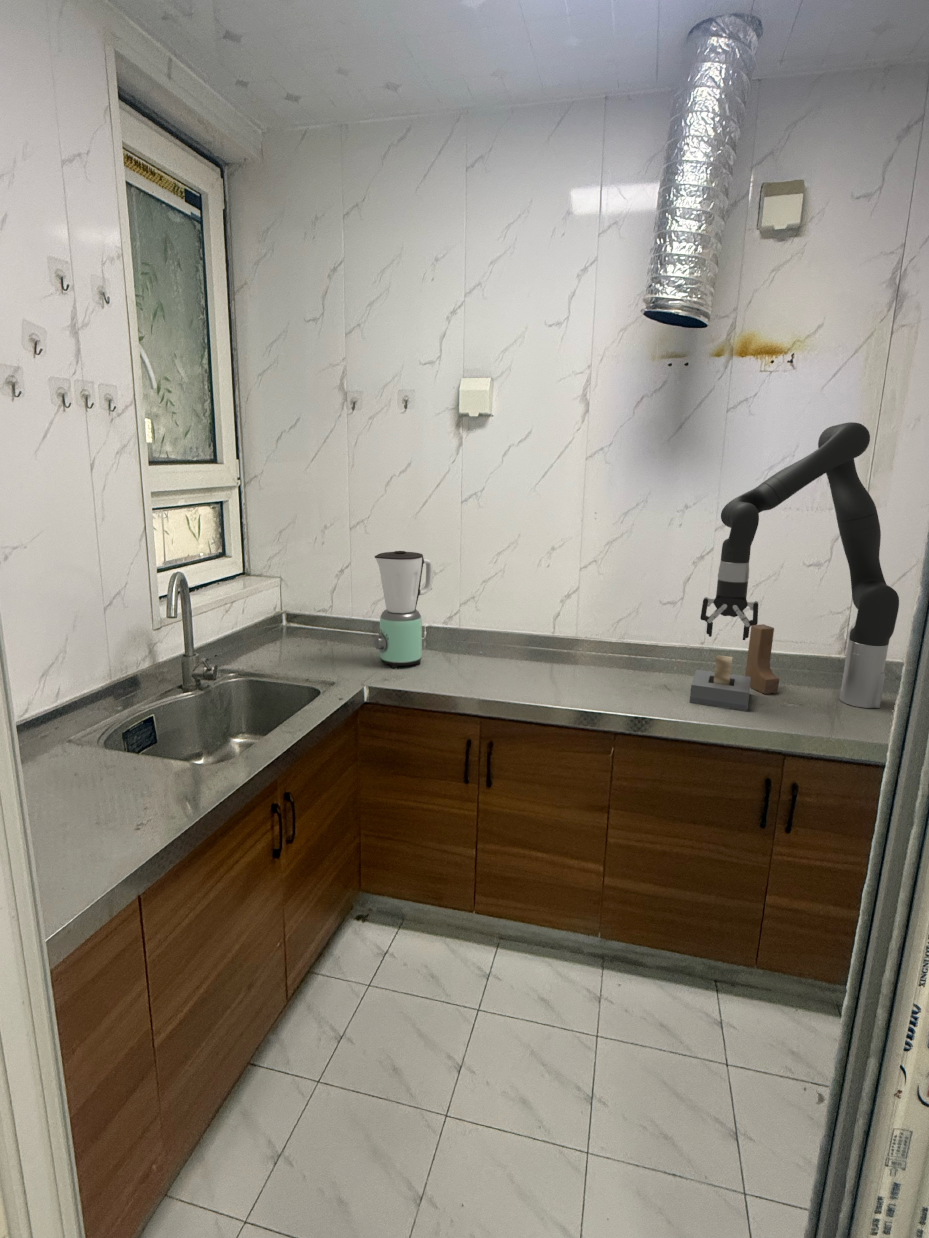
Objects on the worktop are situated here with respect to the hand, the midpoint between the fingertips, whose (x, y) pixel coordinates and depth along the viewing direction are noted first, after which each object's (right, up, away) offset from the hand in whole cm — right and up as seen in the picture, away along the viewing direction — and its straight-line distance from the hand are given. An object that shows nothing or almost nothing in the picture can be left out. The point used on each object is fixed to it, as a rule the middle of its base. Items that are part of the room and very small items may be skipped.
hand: (726, 637), depth 183 cm
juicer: (-90, -9, +30) cm, 95 cm away
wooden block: (+14, -15, +12) cm, 24 cm away
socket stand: (0, -17, +4) cm, 17 cm away
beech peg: (0, -15, +4) cm, 16 cm away
